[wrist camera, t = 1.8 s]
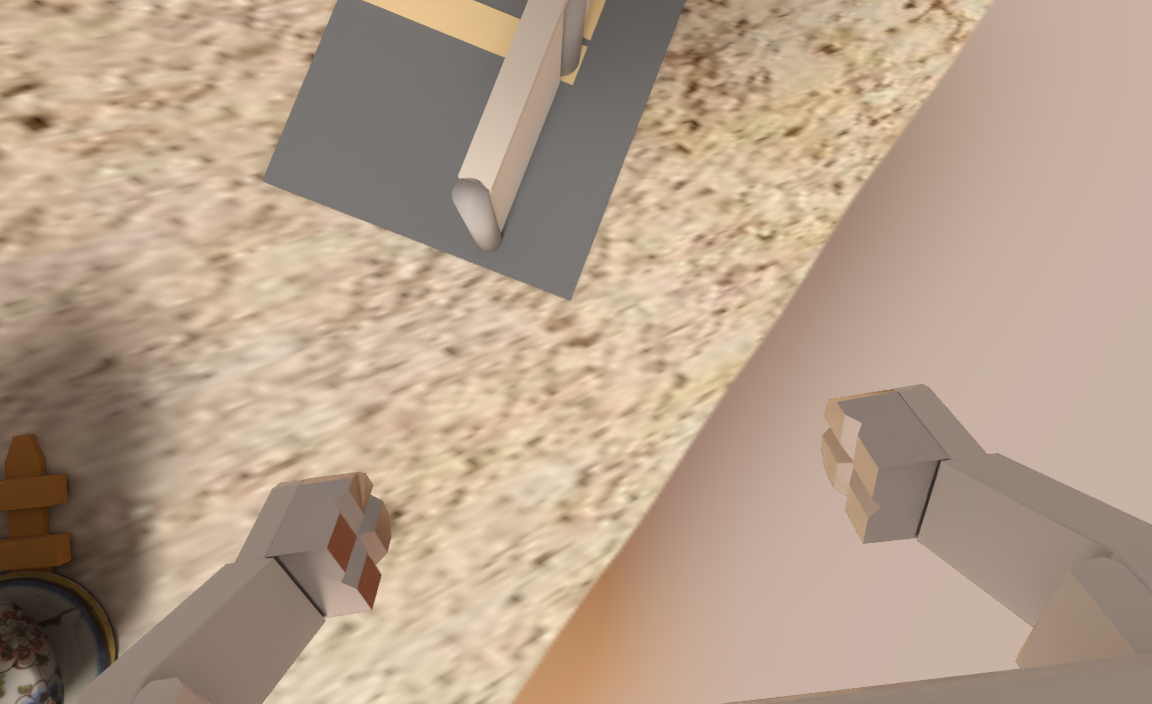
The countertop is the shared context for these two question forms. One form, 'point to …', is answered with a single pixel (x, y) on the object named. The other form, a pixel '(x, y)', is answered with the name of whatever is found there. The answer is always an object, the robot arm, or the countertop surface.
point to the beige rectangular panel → (511, 123)
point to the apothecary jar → (50, 639)
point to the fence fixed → (573, 34)
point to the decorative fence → (31, 510)
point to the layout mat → (468, 125)
